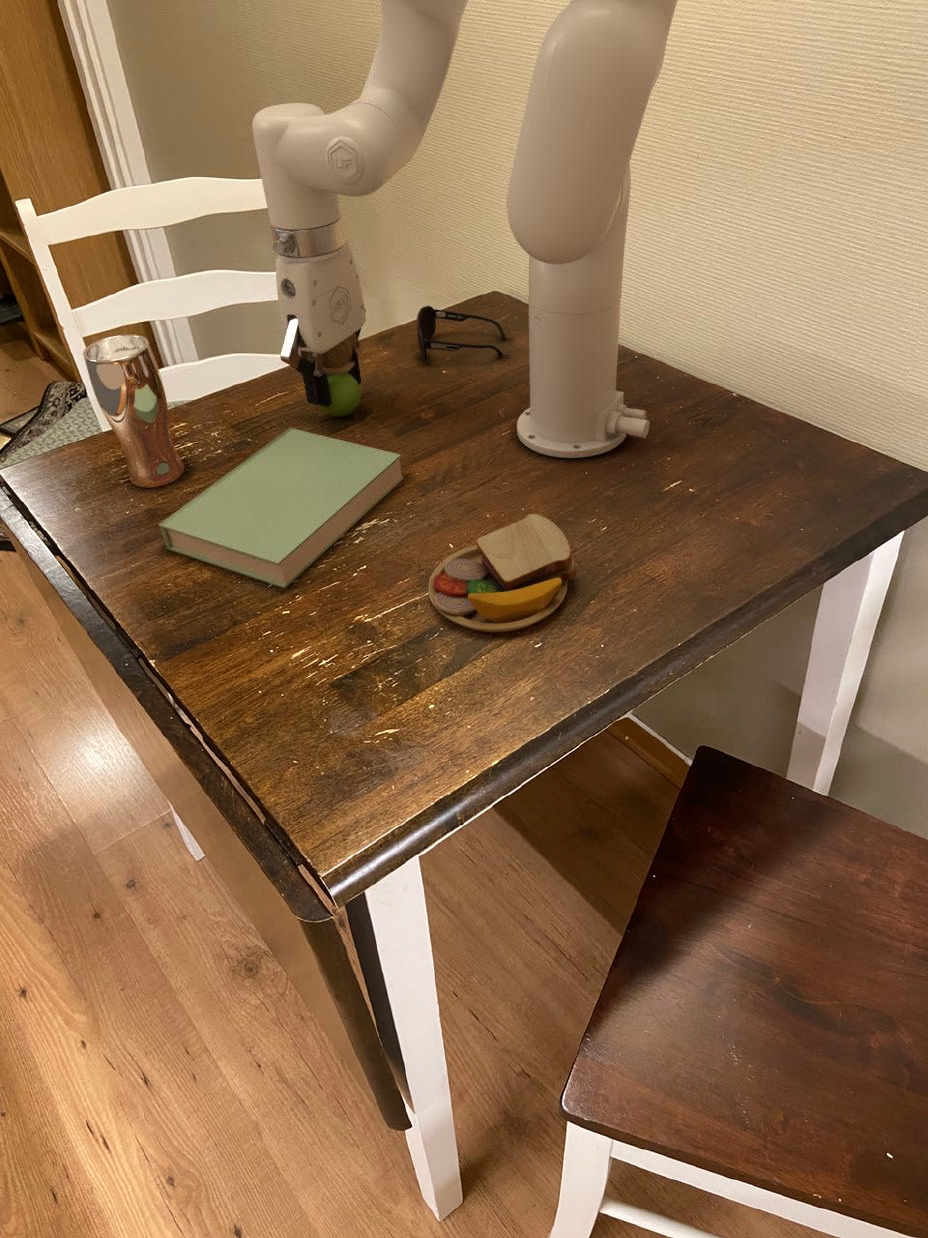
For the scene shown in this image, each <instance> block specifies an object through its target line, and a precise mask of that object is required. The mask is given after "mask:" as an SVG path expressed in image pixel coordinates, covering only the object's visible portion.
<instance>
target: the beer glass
mask: <svg viewBox="0 0 928 1238" xmlns="http://www.w3.org/2000/svg"><path fill="white" fill-rule="evenodd" d="M82 357H83V359H84V362H85V366H86V369H87V374H88V377H89V381H90V384H91V387H92V390H93V393H94V396H95V398H96V401H97V403H98V405H99V408H100V409H101V411H102V414H103V416H104V417H105V419H106V421H107V423H108V424H109V426H110V428H111V429H112V431H113V433H114V435H115V436H116V438H117V440H118V442H119V444H120V446H121V448H122V450H123V452H124V455H125V459H126V464H127V465H126V466H127V473H128V477H129V480H130V482H131V484H133V485H134V486H136V487H139V488H143V489H152V488H159V487H163V486H167V485H169V484H172V483H173V482H175V481H176V480H178V479H179V478H180V477H181V476H182V475H183V474H184V472H185V464H184V462H183V460H182V458H181V456H180V454H179V453H178V450H177V448H176V446H175V444H174V441H173V436H172V432H171V426H170V425H171V424H170V417H169V415H170V414H169V409H168V408H169V407H168V400H167V394H166V388H165V385H164V382H163V378H162V374H161V372H160V369H159V365H158V364H157V363H158V362H157V361H156V358H155V355H154V353H153V351H152V348H151V346H150V342H149V340H148V338H146V337H145V336H144V335H143V336H142V335H138V334H131V333H129V334H128V333H127V334H117V335H111V336H107V337H105V338H101V339H99V340H95V341H94V342H92V343H90V344H89V345H87V346H86V347H85V348H84V349H83V351H82Z"/></svg>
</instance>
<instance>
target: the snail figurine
mask: <svg viewBox="0 0 928 1238" xmlns="http://www.w3.org/2000/svg"><path fill="white" fill-rule="evenodd" d="M351 357H352V346H351V343H350V341H349V340H348V339H345V340H344V341H342V342H341V343H339V344H338V345H336V346H335V347H333V348H332V349H330V350H329V351H327V352H325V353H323V368H322V373H324V374H326V375H327V379H328V384H329V390H330V396H331V405H330V406H329V407H324V406H320V405H318V407H319V408H320V409H321V410H322V411H323V412H324V413H325V414H327V415H329V416H330V417H336V418H343V417H346V416H347V417H348V416H349V415H351V414H352V413H353V412H355V411H356V409H357V408H358V406H359V404H360V402H361V395H362V393H361V391H362V390H361V388H360V385H359V384H358V383H357V381H356V380H355V378H354V377H353V376H351V375H350V374H348V373H347V372H348V371H350V370H351V369H352V367H353V366H354V364H355V363H354V362H349V360H350V359H351ZM307 360H309V361H310V362H312V363H313V353H307ZM348 362H349V363H348Z"/></svg>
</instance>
